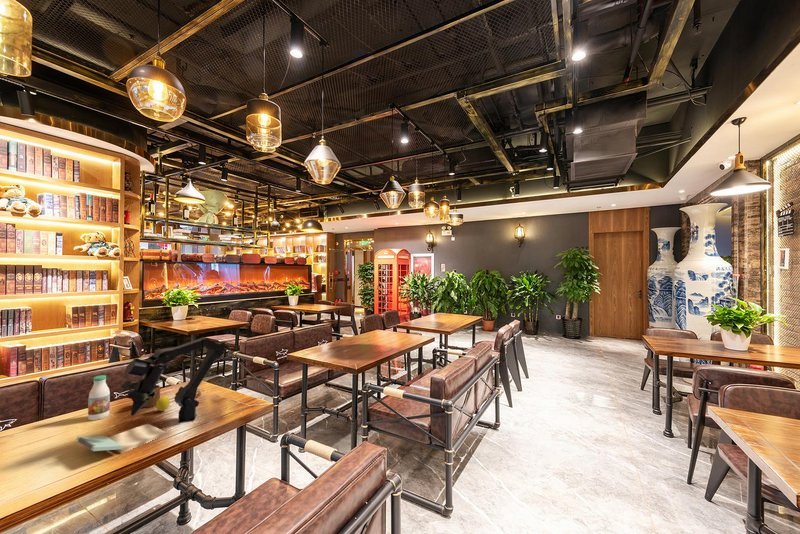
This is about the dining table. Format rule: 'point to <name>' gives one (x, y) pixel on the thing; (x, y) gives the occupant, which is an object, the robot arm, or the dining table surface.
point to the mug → (153, 400)
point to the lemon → (163, 403)
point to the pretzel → (198, 393)
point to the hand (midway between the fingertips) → (132, 415)
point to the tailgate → (98, 443)
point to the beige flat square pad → (137, 437)
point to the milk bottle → (99, 399)
